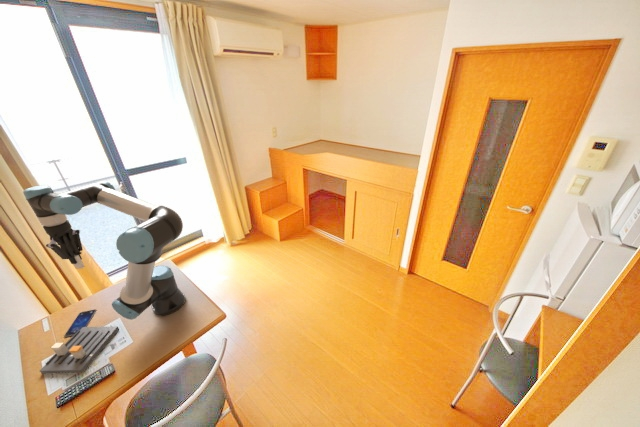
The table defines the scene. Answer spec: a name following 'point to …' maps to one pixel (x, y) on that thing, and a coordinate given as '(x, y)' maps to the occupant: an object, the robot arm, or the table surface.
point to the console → (91, 343)
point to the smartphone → (80, 322)
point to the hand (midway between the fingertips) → (80, 267)
